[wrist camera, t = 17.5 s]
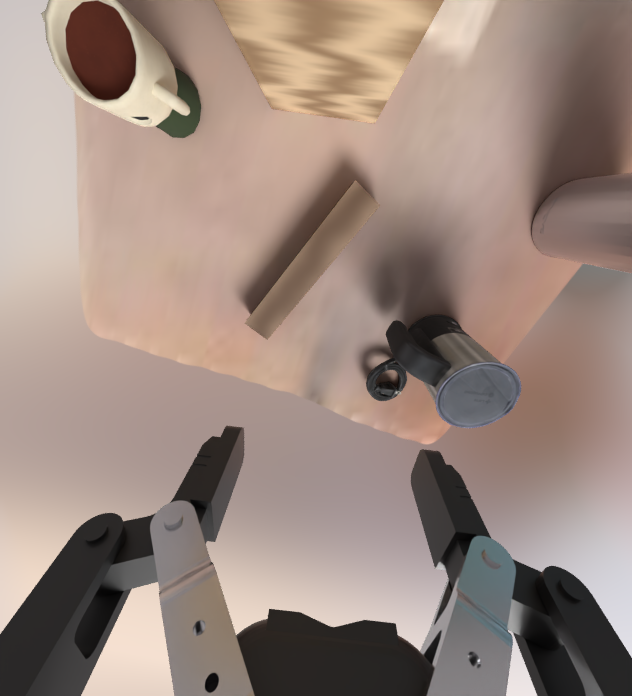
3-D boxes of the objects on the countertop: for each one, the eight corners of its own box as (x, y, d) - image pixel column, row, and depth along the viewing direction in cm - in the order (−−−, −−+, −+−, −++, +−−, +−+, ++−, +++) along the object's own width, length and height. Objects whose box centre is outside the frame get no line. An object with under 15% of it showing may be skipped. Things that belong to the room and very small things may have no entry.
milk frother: (472, 318, 43) (538, 367, 29) (438, 401, 50) (479, 472, 36) (380, 306, 42) (404, 350, 29) (359, 391, 49) (371, 458, 36)
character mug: (122, 110, 33) (10, 54, 21) (138, 36, 30) (18, -74, 18) (210, 165, 35) (152, 142, 23) (232, 101, 32) (178, 39, 20)
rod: (374, 205, 37) (380, 205, 33) (272, 329, 45) (267, 339, 41) (352, 183, 36) (355, 180, 32) (251, 313, 44) (244, 323, 40)
